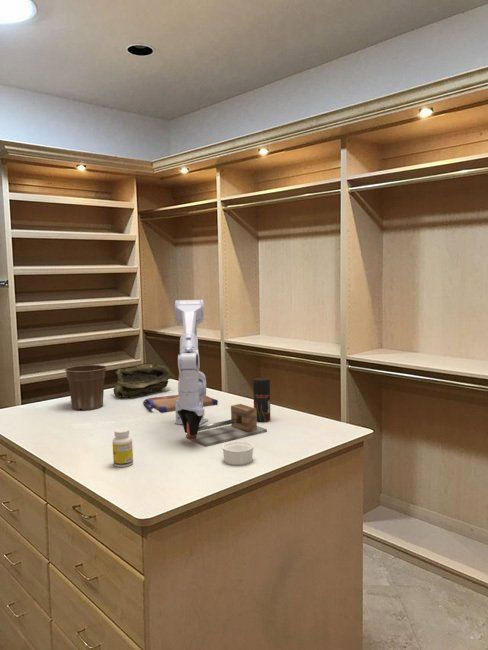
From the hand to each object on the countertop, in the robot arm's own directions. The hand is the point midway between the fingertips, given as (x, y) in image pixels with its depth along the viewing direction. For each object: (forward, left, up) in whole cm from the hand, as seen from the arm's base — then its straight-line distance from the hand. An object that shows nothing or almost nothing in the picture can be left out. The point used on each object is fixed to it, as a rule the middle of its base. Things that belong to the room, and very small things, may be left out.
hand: (191, 433), depth 168 cm
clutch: (-30, +42, -4) cm, 52 cm away
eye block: (+7, +12, -3) cm, 14 cm away
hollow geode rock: (-55, +55, -3) cm, 78 cm away
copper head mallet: (+4, +7, -1) cm, 8 cm away
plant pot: (-63, +27, -3) cm, 68 cm away
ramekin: (+20, -9, -3) cm, 22 cm away
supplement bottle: (-9, -23, -3) cm, 25 cm away
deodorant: (+11, +32, -3) cm, 34 cm away
